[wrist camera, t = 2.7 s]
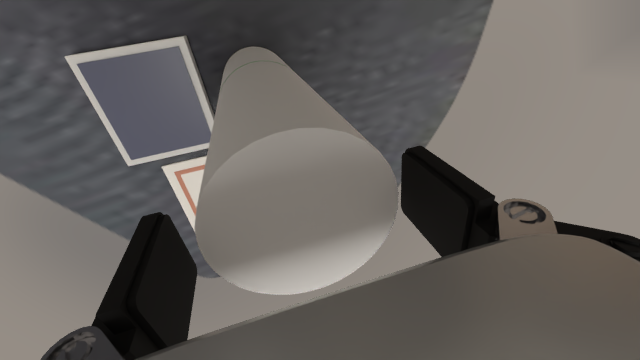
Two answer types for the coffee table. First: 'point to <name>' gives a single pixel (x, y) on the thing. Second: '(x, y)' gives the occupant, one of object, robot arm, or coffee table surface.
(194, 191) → the marked paper
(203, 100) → the ink pad
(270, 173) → the cylindrical container
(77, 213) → the coffee table surface
